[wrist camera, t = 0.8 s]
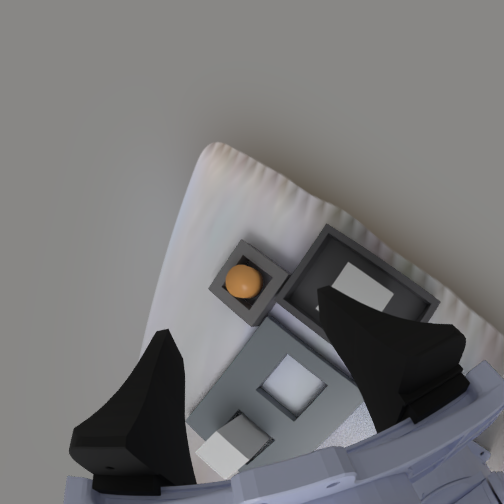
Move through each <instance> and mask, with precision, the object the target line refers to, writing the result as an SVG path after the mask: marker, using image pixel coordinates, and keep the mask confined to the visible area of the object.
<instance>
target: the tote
mask: <svg viewBox="0 0 504 504" xmlns="http://www.w3.org/2000/svg"><path fill="white" fill-rule="evenodd" d="M348 262H349V263H351V264H352V265H353V266H355V267H356V268H358V269H359V270H361V271H362V272H364V273H365V274H366V275H368V276H369V277H371V278H372V279H374V280H375V281H376V282H378V283H379V284H381V285H382V286H384V287H385V288H386V289H388V290H389V291H391V292H392V293H393V294H394V295H393V296H392V298H391V299H390V301H389V302H388V304H387V305H386V307H385V308H384V309H383V311H382V312H384V313H387V314H390V315H393V316H396V317H400V318H404V319H408V320H412V321H418V322H424V323H428V321H429V320H430V318H431V317H432V315H433V313H434V312H435V310H436V309H437V307H438V305H439V304H440V301H439V300H438V299H436V298H435V297H434V296H432V295H431V294H430V293H428V292H427V291H425V290H424V289H423V288H421V287H420V286H419V285H417V284H416V283H414V282H413V281H412V280H410V279H409V278H407V277H406V276H405V275H403V274H402V273H400V272H399V271H398V270H396V269H395V268H393V267H392V266H390V265H389V264H387V263H386V262H385V261H383V260H382V259H380V258H379V257H377V256H376V255H374V254H373V253H371V252H370V251H368V250H367V249H365V248H364V247H362V246H361V245H359V244H358V243H356V242H355V241H353V240H352V239H350V238H348V237H347V236H345V235H344V234H342V233H341V232H339V231H338V230H336V229H334V228H333V227H331V226H330V225H328V224H326V225H325V227H324V228H323V230H322V231H321V233H320V234H319V236H318V237H317V239H316V240H315V242H314V243H313V245H312V246H311V248H310V249H309V251H308V252H307V254H306V255H305V257H304V258H303V259H302V261H301V262H300V264H299V265H298V267H297V268H296V270H295V271H294V272H293V274H292V275H291V277H290V278H289V280H288V281H287V282H286V284H285V285H284V287H283V288H282V289H281V291H280V292H279V294H278V295H277V297H276V298H275V299H274V301H276V302H277V303H278V304H279V305H281V306H282V307H283V308H284V309H286V310H287V311H288V312H290V313H291V314H292V315H293V316H295V317H296V318H297V319H299V320H300V321H301V322H302V323H304V324H305V325H306V326H308V327H309V328H310V329H312V330H313V331H314V332H315V333H317V334H318V335H319V336H321V337H322V338H323V339H325V340H326V341H327V342H329V343H330V344H331V342H330V341H329V339H328V338H327V336H326V334H325V332H324V330H323V327H322V325H321V323H320V318H319V311H318V310H317V309H316V307H317V306H318V295H317V289H318V288H321V287H325V286H328V285H329V286H332V285H333V283H334V282H335V281H336V279H337V278H338V276H339V275H340V273H341V272H342V270H343V269H344V267H345V266H346V264H347V263H348ZM331 345H332V344H331ZM332 346H333V345H332Z"/></svg>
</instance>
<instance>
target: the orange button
mask: <svg viewBox="0 0 504 504" xmlns="http://www.w3.org/2000/svg"><path fill="white" fill-rule="evenodd" d="M263 283H264V282H263V277H262V275H261V273H260V272H259V271H258V270H257V269H255V268H252V267H249V266H246V265H236V266H234V267H233V268H231V269H230V270H229V272H228V274H227V276H226V288H227V290H228V291H229V293H230V294H231V295H233V296H235V297H239V298H253V297H256V296H257V295H258V294H259V293H260V292H261V290H262V288H263Z"/></svg>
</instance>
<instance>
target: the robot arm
mask: <svg viewBox="0 0 504 504" xmlns="http://www.w3.org/2000/svg"><path fill="white" fill-rule="evenodd" d="M317 295H318V306H319V318H320V323H321V325H322V327H323V330H324V332H325V334H326V336H327V338H328V339H329V341H330V342H331V344H332V345H333V347H334V349H335V350H336V352H337V353H338V355H339V356H340V358H341V359H342V361H343V362H344V364H345V365H346V367H347V368H348V370H349V371H350V373H351V375H352V377H353V379H354V381H355V383H356V385H357V387H358V389H359V391H360V393H361V395H362V397H363V400H364V402H365V404H366V406H367V409H368V411H369V413H370V416H371V418H372V421H373V423H374V426H375V428H376V431H377V434H376V435H374V436H371V437H369V438H367V439H365V440H362V441H360V442H358V443H355V444H353V445H350V446H348V447H346V448H344V447H336V446H331V447H327V448H323V449H319V450H316V451H313V452H310V453H307V454H304V455H300V456H297V457H294V458H290V459H287V460H283V461H279V462H276V463H272V464H268V465H264V466H259V467H255V468H251V469H248V470H245V471H241V472H239V473H238V474H236V475H234V476H233V477H232V478H231V480H226V481H219V482H212V483H204V484H197V483H196V479H195V475H194V471H193V467H192V462H191V457H190V452H189V446H188V440H187V433H186V426H185V371H184V363H183V358H182V356H181V354H180V352H179V350H178V348H177V346H176V344H175V342H174V340H173V338H172V335H171V333H170V331H169V329H165V330H161V331H157V332H156V333H155V335H154V337H153V338H152V340H151V342H150V343H149V345H148V347H147V349H146V350H145V352H144V354H143V356H142V357H141V359H140V361H139V362H138V364H137V366H136V367H135V368H134V370H133V371H132V373H131V374H130V376H129V377H128V379H127V380H126V381H125V383H124V384H123V385H122V386H121V387H120V389H119V390H118V391H117V392H116V393H115V394H114V395H113V397H112V398H110V400H109V401H108V402H107V403H106V404H105V405H104V406H103V407H102V408H100V409H99V410H98V411H97V412H96V413H94V414H93V415H92V416H91V417H90V418H88V419H87V420H85V421H84V422H82V423H81V424H80V425H78V426H77V427H75V428H74V430H73V434H72V439H71V443H70V448H69V454H70V455H71V457H72V458H73V459H74V460H75V461H76V462H77V463H78V464H80V465H81V466H82V467H84V468H85V469H87V470H88V471H89V472H91V473H93V474H94V475H93V480H91V479H88V478H84V477H75V476H67V481H66V488H65V495H64V504H504V473H503V472H502V471H501V472H497V473H496V472H495V471H493V472H491V471H490V469H489V468H488V466H487V464H486V463H485V462H486V461H487V460H488V459H489V457H490V456H491V454H490V452H489V451H487V450H486V449H484V448H483V447H482V446H480V445H479V444H477V443H476V442H474V441H473V440H474V439H475V438H476V437H477V436H479V435H480V434H481V433H482V432H483V431H484V430H486V429H487V428H488V427H489V426H490V425H491V424H492V423H493V422H494V421H495V420H496V419H497V417H498V416H499V415H500V413H501V412H502V411H503V409H504V379H503V378H502V377H501V376H500V375H499V374H498V373H497V372H496V371H495V370H494V369H493V368H492V366H491V365H490V364H489V363H488V362H487V361H486V360H484V361H482V362H481V363H480V364H478V365H477V366H476V367H474V368H473V369H472V370H470V371H469V372H468V373H467V375H466V376H464V375H463V374H462V373H461V372H462V370H463V368H462V367H461V366H460V365H459V362H460V359H461V357H462V354H463V351H464V349H465V345H466V338H465V336H464V335H463V334H462V333H461V332H460V331H459V330H458V329H457V328H456V327H454V326H453V325H452V324H432V323H424V322H418V321H412V320H408V319H404V318H400V317H396V316H393V315H390V314H387V313H384V312H381V311H379V310H376V309H374V308H372V307H369V306H367V305H365V304H363V303H361V302H359V301H357V300H355V299H353V298H351V297H349V296H347V295H346V294H344V293H342V292H340V291H338V290H337V289H335V288H333V287H331V286H329V285H328V286H325V287H321V288H318V289H317ZM481 452H483V453H482V454H480V453H481Z"/></svg>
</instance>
